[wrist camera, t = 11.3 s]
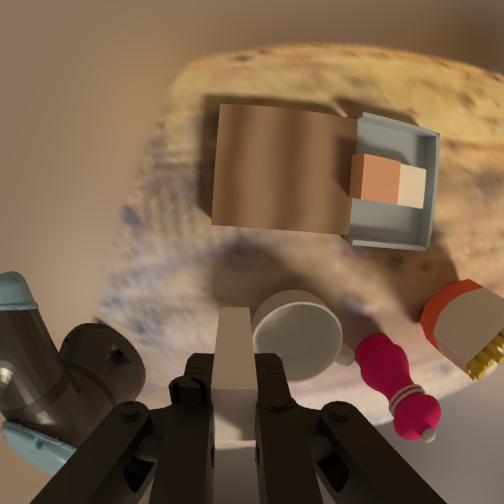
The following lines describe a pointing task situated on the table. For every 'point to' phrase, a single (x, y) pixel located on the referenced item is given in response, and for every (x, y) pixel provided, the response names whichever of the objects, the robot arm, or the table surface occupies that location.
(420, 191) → the cream square block
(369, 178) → the orange square block
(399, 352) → the pepper mill
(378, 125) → the tray
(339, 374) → the table surface
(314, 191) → the walnut board
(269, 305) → the teacup
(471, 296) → the french fries container
